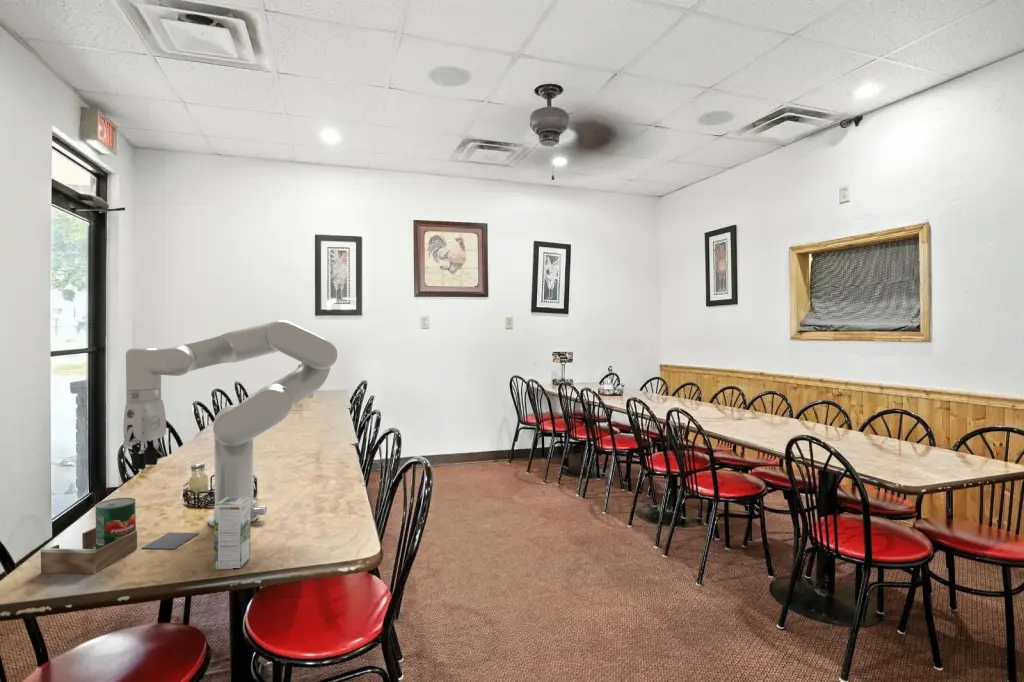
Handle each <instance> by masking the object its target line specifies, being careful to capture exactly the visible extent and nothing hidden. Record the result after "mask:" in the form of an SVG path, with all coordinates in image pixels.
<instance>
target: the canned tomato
mask: <svg viewBox="0 0 1024 682" xmlns="http://www.w3.org/2000/svg"><path fill="white" fill-rule="evenodd" d="M94 506H95V527H96V547H95V549H96V550H98V549H100V548H102V547H104V546H106V545H108V544H110V543H112V542H114V541H116V540H117V539H119V538H121V537H123V536H125V535H127V534H129V533H131V532H133V531H137V525H136V524H137V522H136V520H137V519H136V518H137V517H136V515H137V513H136V512H137V511H136V508H137V506H136V499H135V498H133V497H118V498H112V499H106V500H103V501H99V502H98V503H96V504H95V505H94Z"/></svg>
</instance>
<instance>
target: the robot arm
mask: <svg viewBox="0 0 1024 682" xmlns="http://www.w3.org/2000/svg"><path fill="white" fill-rule="evenodd" d="M277 352H280V353H282V354H284V355H286V356H288V357H290V358H292V359H295V360H297V361H298V362H300V365H299V366H298V367H297V368H296V369H294V370H292V371H291V372H289V373H288V374H286V375H285V376H283V377H281V378H280V379H277V380H275V381H273V382H272V383H270V384H268V385H265V386H264V387H261V388H260V389H259V390H257V392H256V393H255V394H254V396H251V397H250V398H248V399H246V400H245V401H243V402H242V403H240V404H232V405H226V406H225V407H223V408H222V409H220V410H219V411H218V413H217V414H216V416H215V417H214V422H213V434H214V435H213V436H214V439H213V440H214V506H215V505H216V504H217V503H219V502H220V501H222V500H223V499H224V498H226V497H234V496H241V497H250V498H251V522H250V523H252V522H255V521H256V519H257V520H258V519H259V518H260V516H266V514H267V512H268V509H267V505H259V504H258V500H254V438H256V437H258V436H259V435H261V434H263V433H265V432H266V431H268V430H270V429H271V428H273V427H275V426H277V425H278V424H279V423H281V422H283V420H285V419H286V418H287V417H288V416H289V415H290V413H291V410H292V407H294V406H296V405H297V404H299V403H300V402H302V401H304V400H305V399H306V398H308V397H310V396H312V395H314V393H315V392H317V391H318V390H320V389H321V387H322V386H323V385H324V383H325V382H326V380H327V379H328V377H329V374H330V371H331V367H332V366H333V365H335V363H336V361H337V359H338V350H337V348H336V346H335V345H334V344H333V343H332V342H331V341H329V340H328V339H325V338H324V337H322V336H319V335H318V334H315V333H313V332H311V331H309V330H307V329H305V328H303V327H302V326H299V325H297V324H295V323H294V322H291V321H288V320H285V319H280V320H279V319H278V320H275V321H271V322H270V321H269V322H267V323H262V324H259V325H253V326H249V327H245V328H241V329H236V330H232V331H229V332H225V333H223V334H221V335H217V336H215V337H211V338H208V339H207V338H206V339H203V340H198V341H196V342H191V343H186V344H182V345H178V346H173V347H170V348H169V347H168V348H155V347H154V348H153V347H134V348H129V349H128V350H127V351H126V353H125V390H126V391H125V392H126V393H125V396H126V398H125V400H126V403H125V407H124V415H123V425H122V426H123V428H122V429H123V438H124V439H123V443H122V446H123V447H124V448H126V449H127V450H129V453H130V454H131V468H132V470H144V469H146V466H155V465H157V464H158V449H159V447H160V446H159V444H160V443H161V440H162V439H163V437H164V436H165V435H166V434H167V420H166V419H167V417H166V411H165V406H164V405H165V404H164V401H163V399H162V376H169V377H171V376H173V377H180V376H184V375H186V374H188V373H189V372H192V371H196V370H199V369H204V368H207V367H211V366H216V365H220V364H221V365H222V364H230V363H239V362H243V361H247V360H250V359H254V358H258V357H261V356H267V355H269V354H274V353H277ZM208 524H209V526H211V527H214V514H212V515H211V516H209V518H208Z"/></svg>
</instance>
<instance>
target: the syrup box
mask: <svg viewBox="0 0 1024 682" xmlns="http://www.w3.org/2000/svg"><path fill="white" fill-rule="evenodd" d="M213 508H214V509H213V510H214V512H213V515H214V526H213V569H214V570H234V569H233V568H240V569H241V568H242V567H243V566H244V565H245V564H246V563H247V562H248V561H249V560H250V559H251V523H252V522H251V498H250V497H241V496H234V497H226V498H224V499H223V500H222V501H220V502H219V503H217V504H216V505H215V504H214V507H213ZM249 558H250V559H249ZM248 559H249V560H248ZM247 560H248V561H247Z"/></svg>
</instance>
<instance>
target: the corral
mask: <svg viewBox="0 0 1024 682" xmlns="http://www.w3.org/2000/svg"><path fill="white" fill-rule="evenodd" d="M81 535H82V544H81V545H82V548H60V544H55V545H53V546H51V547H49V548H47V547H46V548H44V547H43V548H41V549H40V573H41V574H73V573H94V574H96V573H98V572H100V571H102V570H103V569H105V568H107V567H108V565H109V564H111V563H112V564H114V563H115V561H116V562H118V561H119V560H122V559H123V558H125V557H127V556H128V555H130V554H132V553H134V552H135V551H134V550H136V549H137V550H138V531H137V530H136V531H133V532H131V533H129V534H127V535H125V536H123V537H121V538H119V539H117V540H116V541H114V542H112V543H110V544H108V545H106V546H104V547H102V548H100V549H98V550H96V526H95V527H93V528H91V529H89V530H86V531H84V532H82V534H81ZM94 547H95V549H94ZM92 548H93V549H92ZM137 550H136V551H137ZM133 551H134V552H133ZM131 552H132V553H131ZM129 553H130V554H129ZM127 554H128V555H127ZM126 555H127V556H126ZM124 556H125V557H124ZM122 557H123V558H122ZM117 560H118V561H117ZM113 562H114V563H113ZM112 564H111V565H112ZM106 566H107V567H106ZM109 566H110V565H109ZM104 567H105V568H104ZM102 568H103V569H102ZM101 569H102V570H101ZM99 570H100V571H99ZM97 571H98V572H97ZM95 572H96V573H95Z"/></svg>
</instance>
